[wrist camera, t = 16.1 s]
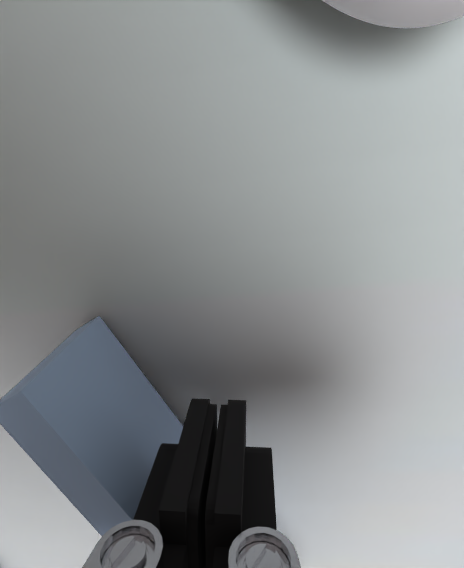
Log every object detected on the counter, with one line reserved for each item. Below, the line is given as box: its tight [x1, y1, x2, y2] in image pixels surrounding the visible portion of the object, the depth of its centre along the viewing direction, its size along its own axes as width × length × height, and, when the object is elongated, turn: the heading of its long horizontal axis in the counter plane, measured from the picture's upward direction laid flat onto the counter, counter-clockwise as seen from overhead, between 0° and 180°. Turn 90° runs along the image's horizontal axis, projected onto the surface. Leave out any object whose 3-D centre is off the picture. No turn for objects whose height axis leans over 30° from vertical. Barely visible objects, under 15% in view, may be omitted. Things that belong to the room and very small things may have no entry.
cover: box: [0, 316, 183, 536], centre depth 12 cm, size 1×13×5 cm, turn 32°
